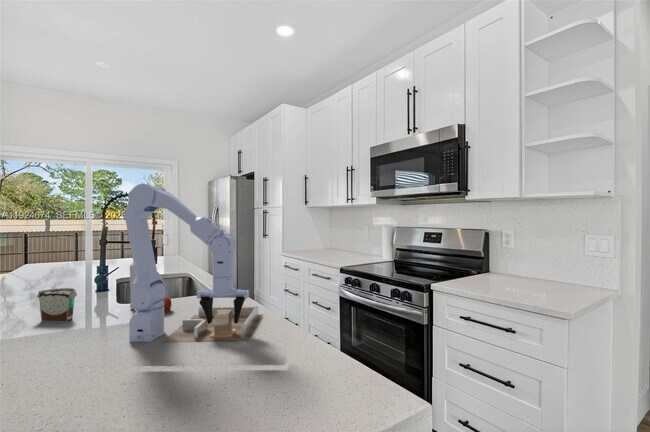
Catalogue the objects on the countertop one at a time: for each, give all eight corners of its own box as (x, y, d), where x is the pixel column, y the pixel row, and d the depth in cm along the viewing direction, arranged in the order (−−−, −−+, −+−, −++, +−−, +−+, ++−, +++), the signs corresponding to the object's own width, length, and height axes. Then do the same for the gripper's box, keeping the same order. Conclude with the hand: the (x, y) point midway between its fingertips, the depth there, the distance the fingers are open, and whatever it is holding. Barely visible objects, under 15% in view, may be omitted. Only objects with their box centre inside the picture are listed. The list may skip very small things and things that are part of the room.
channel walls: (244, 338, 92) (244, 327, 92) (172, 339, 92) (172, 328, 92) (258, 315, 113) (258, 306, 113) (199, 315, 113) (199, 307, 113)
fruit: (170, 314, 113) (158, 294, 113) (150, 326, 113) (138, 306, 113) (180, 307, 121) (169, 288, 121) (162, 318, 121) (151, 299, 121)
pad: (230, 337, 93) (230, 336, 93) (209, 337, 93) (209, 336, 93) (236, 329, 99) (236, 328, 99) (216, 330, 99) (216, 329, 99)
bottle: (138, 310, 122) (138, 243, 122) (126, 310, 123) (126, 243, 123) (148, 306, 127) (148, 242, 127) (137, 306, 128) (136, 242, 128)
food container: (86, 316, 115) (86, 288, 115) (71, 322, 109) (71, 292, 109) (54, 315, 116) (54, 287, 116) (37, 321, 110) (37, 291, 110)
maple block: (228, 334, 94) (228, 313, 94) (214, 335, 94) (214, 314, 94) (232, 330, 98) (231, 309, 98) (218, 330, 98) (218, 309, 98)
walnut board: (248, 344, 90) (248, 341, 90) (161, 345, 90) (161, 342, 90) (263, 317, 114) (263, 314, 114) (194, 317, 114) (194, 315, 114)
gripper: (251, 273, 100) (251, 317, 100) (202, 273, 100) (203, 318, 100) (245, 277, 93) (246, 325, 93) (194, 277, 93) (194, 326, 93)
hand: (223, 322), depth 96 cm, fingers open, 7 cm apart
